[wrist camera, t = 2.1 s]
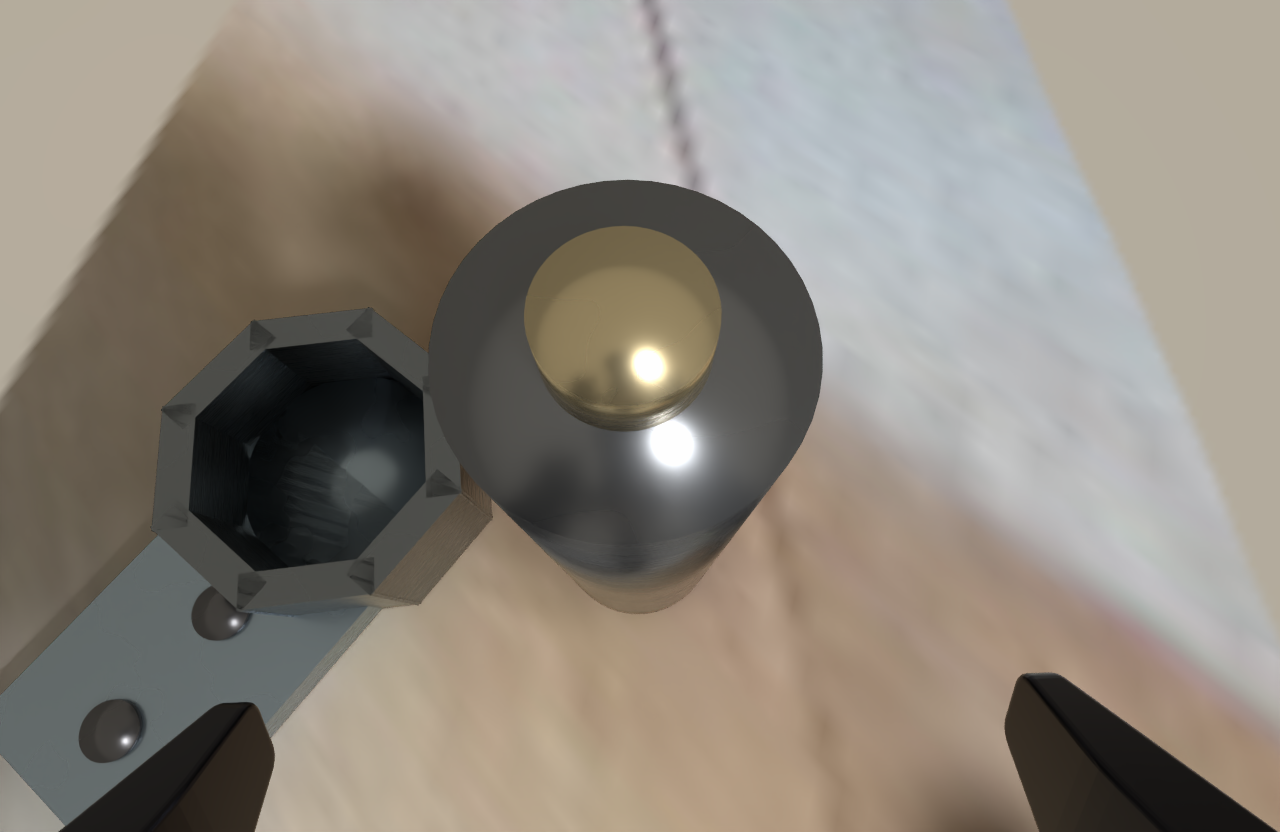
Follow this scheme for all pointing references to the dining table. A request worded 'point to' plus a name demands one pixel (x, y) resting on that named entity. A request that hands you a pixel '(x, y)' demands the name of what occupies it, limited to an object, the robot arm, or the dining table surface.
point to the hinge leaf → (252, 550)
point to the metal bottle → (626, 380)
